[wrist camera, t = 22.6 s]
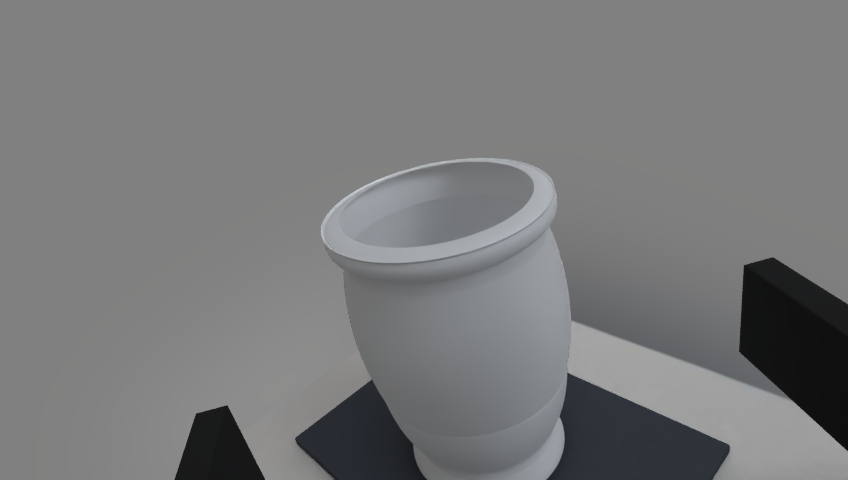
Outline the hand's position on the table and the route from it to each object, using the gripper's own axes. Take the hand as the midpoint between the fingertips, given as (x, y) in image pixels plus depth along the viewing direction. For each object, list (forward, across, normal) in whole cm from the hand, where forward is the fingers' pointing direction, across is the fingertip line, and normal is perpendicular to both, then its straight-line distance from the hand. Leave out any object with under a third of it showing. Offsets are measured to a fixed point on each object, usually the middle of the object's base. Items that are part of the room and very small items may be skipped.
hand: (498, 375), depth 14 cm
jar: (+12, 0, -15) cm, 19 cm away
